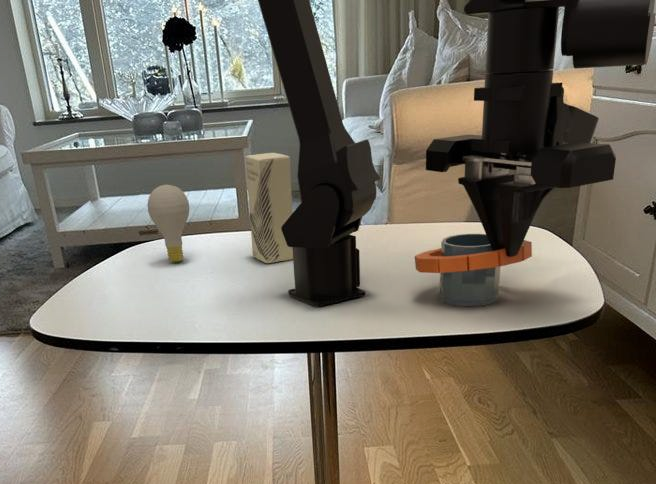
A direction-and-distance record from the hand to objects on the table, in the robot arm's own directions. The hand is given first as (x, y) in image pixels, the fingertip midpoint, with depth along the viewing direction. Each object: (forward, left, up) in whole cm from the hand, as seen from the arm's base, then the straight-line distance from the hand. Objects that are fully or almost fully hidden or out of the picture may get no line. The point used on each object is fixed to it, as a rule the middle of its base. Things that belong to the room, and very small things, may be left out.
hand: (505, 254), depth 73 cm
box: (-7, +36, -6) cm, 37 cm away
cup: (0, +5, -5) cm, 7 cm away
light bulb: (-18, +44, -6) cm, 48 cm away
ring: (0, +5, -2) cm, 5 cm away
